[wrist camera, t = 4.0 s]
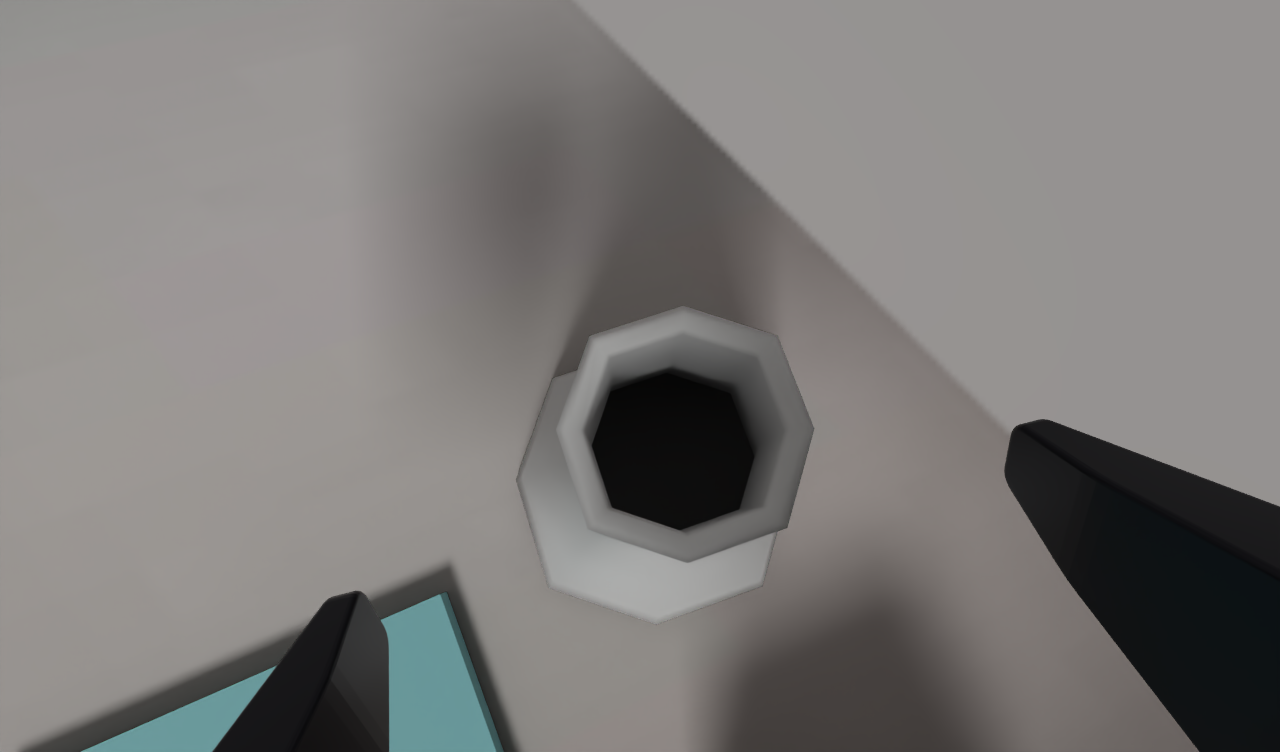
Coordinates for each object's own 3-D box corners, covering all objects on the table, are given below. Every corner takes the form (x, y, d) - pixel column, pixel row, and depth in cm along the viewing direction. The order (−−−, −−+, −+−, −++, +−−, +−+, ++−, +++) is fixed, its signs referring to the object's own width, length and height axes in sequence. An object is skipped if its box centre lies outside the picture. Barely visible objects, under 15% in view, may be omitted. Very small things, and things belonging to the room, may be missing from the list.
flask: (521, 348, 19) (408, 159, 9) (782, 347, 19) (947, 161, 9) (513, 624, 17) (366, 755, 8) (797, 621, 17) (1012, 747, 8)
